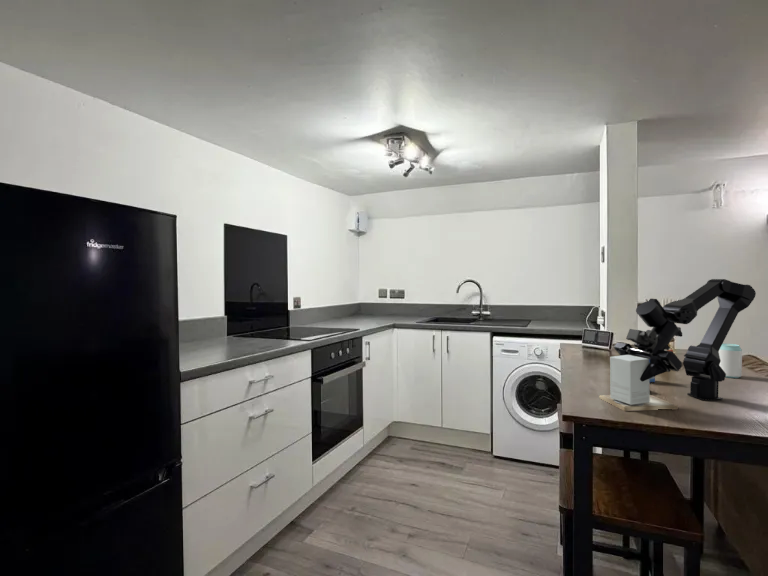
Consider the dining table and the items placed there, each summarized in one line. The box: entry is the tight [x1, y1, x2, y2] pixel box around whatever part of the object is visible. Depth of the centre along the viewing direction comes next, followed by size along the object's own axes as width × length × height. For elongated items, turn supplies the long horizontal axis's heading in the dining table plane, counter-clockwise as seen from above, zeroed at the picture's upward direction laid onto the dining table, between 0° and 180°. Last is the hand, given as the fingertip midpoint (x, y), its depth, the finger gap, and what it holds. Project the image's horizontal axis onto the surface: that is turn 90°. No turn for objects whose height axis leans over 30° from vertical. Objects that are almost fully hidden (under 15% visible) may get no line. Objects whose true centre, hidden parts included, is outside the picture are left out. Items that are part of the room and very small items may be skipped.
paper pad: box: [598, 394, 679, 412], centre depth 125 cm, size 16×12×1 cm
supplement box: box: [609, 355, 651, 405], centre depth 123 cm, size 7×7×13 cm
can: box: [719, 343, 743, 379], centre depth 158 cm, size 7×7×12 cm
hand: (629, 377), depth 123 cm, fingers closed on supplement box, 7 cm apart
